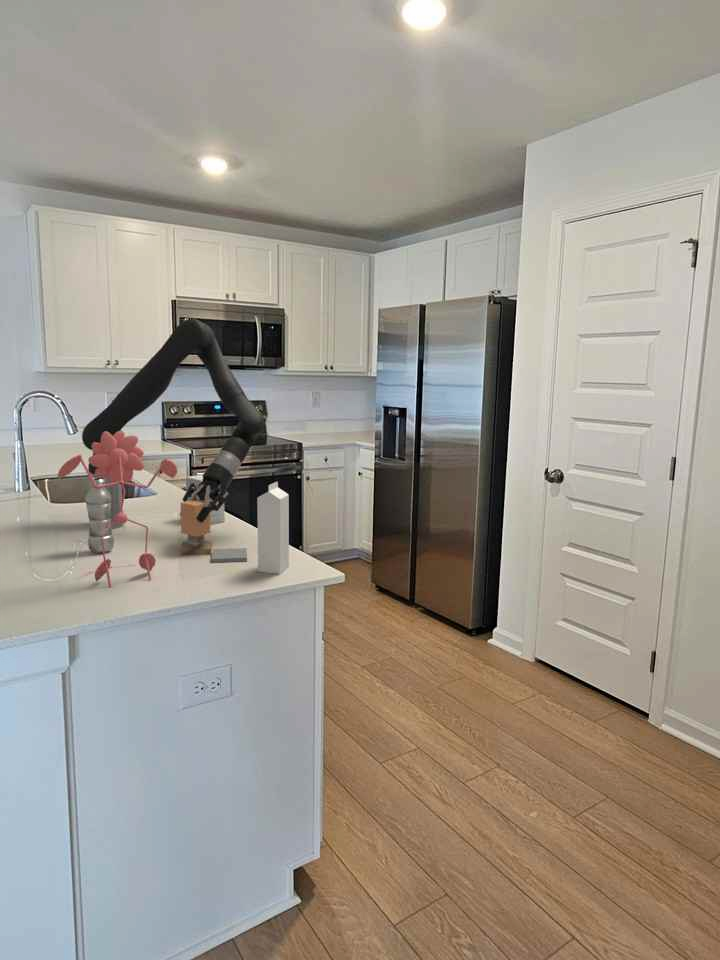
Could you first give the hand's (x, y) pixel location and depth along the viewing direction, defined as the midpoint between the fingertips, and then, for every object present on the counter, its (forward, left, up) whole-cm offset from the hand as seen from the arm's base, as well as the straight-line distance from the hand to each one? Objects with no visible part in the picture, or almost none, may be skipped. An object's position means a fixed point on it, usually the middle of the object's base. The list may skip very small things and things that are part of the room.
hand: (190, 518), depth 167 cm
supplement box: (+2, +34, -10) cm, 36 cm away
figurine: (-15, -18, -9) cm, 25 cm away
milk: (+21, -18, -9) cm, 29 cm away
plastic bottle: (-24, +3, -9) cm, 26 cm away
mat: (+10, -6, -9) cm, 15 cm away
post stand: (+1, +1, -9) cm, 9 cm away
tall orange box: (+1, +1, -4) cm, 5 cm away
